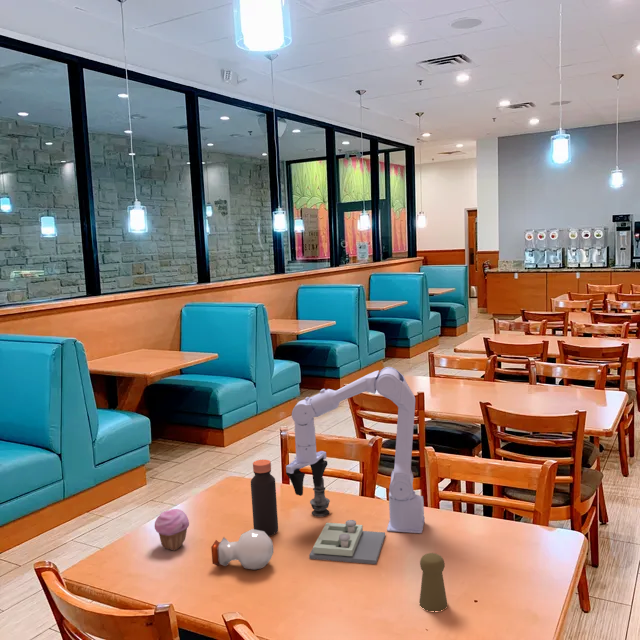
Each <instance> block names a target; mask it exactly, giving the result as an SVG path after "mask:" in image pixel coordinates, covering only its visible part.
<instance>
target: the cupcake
mask: <svg viewBox="0 0 640 640" xmlns="http://www.w3.org/2000/svg"><path fill="white" fill-rule="evenodd" d="M189 526H190V521H189V518H188V516H187V514H186V512H184V510H181V509H178V508H173V509H170V510H165V511H162V512H161V513H160V514H159V515H158V516H157V517H156V519H155V521H154V529H155V530H154V531H156V532H157V533H158V536H159V541H160V543H161V546H162V548H163V549H167V550H170V551H177V550H178V549H180V548H181V546H182V545H183V543H184V541H185V540H186V537H187V530H188V528H189Z"/></svg>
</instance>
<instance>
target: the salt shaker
mask: <svg viewBox="0 0 640 640" xmlns="http://www.w3.org/2000/svg"><path fill="white" fill-rule="evenodd" d="M313 486H314V487H313V488H312V490H313V492H314V494H313V496H314V497H313V498H312V499H310V500H309V504H310V505H311V508H312V509H313V510H312V511H311V515H312V517H313V516H314V517H318V518H321V517H322V518H323V517H326V516H328V515H329V514H330V511H329V509H328V508H329V506H330V502H331V500H330V499H329V498H327V497H326V494H325V493H326V492H325V490H326V487H325V479H324V477H322V482H321V486H320V487H318V486H315V485H314V484H313Z"/></svg>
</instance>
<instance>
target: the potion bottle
mask: <svg viewBox="0 0 640 640" xmlns="http://www.w3.org/2000/svg"><path fill="white" fill-rule="evenodd" d="M210 550H211V561H212V565H215V566H220V565H222V566H224V567H227V566H228V565H229V564H230V562H232V561H238V562H239V563H240V565H241V566H242V567H243V568H244V569H247V570H253V571H258V570H260V569H263V568H264V567H266V566H267V565H268V564H269V562H270V561H271V560H272V556H273V555H274V543H273V540H272V538H271V536H268V535H267V534H266V533H265V531H261V530H256V529H254V528H251V529H250V530H247V531H245V532H243V533H242V534H241V535H240V537H239V539H238V540H237V541H229V540H228V539H226V537H222V539H221V541H220V542H219V541H218V540H217V539H215V541H214V542H213V544H212V545H211V547H210Z"/></svg>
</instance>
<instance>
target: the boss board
mask: <svg viewBox="0 0 640 640" xmlns="http://www.w3.org/2000/svg"><path fill="white" fill-rule="evenodd" d="M345 524H346V526H348V531H346V532H345V533H356V532H355V528H354V526H356V525H357V521H356V520H354V519H348V520H345ZM385 538H386V532H384V531H383V532H381V531H373V530H372V531H370V530H363V531H362V534H361V536H360V539H359V541H358V544H357V546H356V548H355V551H354V553H353V556H342V555H329V554H317V553H313V548H312V549H311V551H310V553H309V555H308V557H309V558H308V559H310V560H319V561H320V560H321V561H330V560H331V561H333V562H342V561H343V562H344V563H345V562H346V563H356V564H357V563H358V564H367V565H368V564H369V565H377V562H378V559H379V557H380V553H381V550H382V547H383V545H384V541H385ZM349 539H350V535H349V534H341V535H339V540H341V545H339V547H342V548H349V547H350V546H348V540H349ZM343 562H342V563H343Z"/></svg>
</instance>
